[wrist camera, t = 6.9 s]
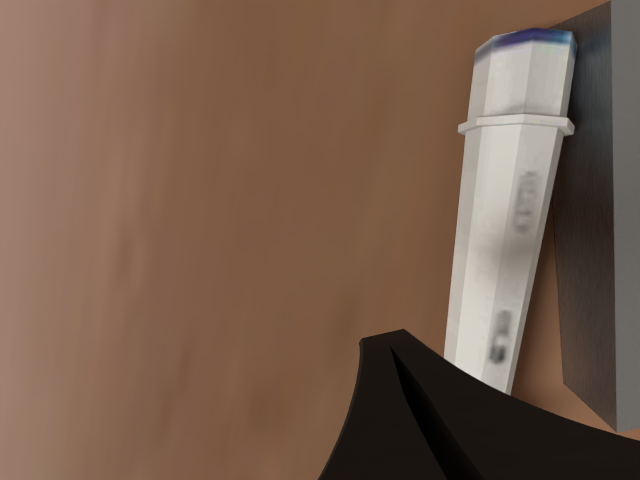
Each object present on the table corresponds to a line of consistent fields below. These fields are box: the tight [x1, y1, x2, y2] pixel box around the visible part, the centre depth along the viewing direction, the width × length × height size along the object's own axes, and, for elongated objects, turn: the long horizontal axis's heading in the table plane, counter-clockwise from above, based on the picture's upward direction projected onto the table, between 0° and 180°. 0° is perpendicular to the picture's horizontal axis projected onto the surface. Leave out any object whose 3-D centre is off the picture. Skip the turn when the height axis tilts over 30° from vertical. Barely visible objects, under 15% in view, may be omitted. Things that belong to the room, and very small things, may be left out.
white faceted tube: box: [444, 28, 577, 395], centre depth 19 cm, size 5×7×25 cm
